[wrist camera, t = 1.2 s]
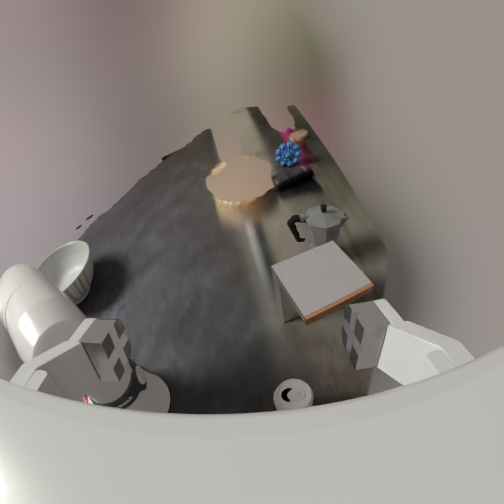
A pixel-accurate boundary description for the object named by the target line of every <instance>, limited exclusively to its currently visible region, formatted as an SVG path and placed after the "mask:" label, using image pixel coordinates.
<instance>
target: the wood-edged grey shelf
mask: <svg viewBox="0 0 504 504" xmlns="http://www.w3.org/2000/svg"><path fill="white" fill-rule="evenodd" d="M271 267H272V274H273V280H274V286H275V292H276V299H277V305H278V312H279V315H280V316H281V318H282V320H283V322H284V323H285V322H287V321H289V320H292V319H294V318H296V317H298V316H301V318H302V320H303V321H304V323H305V324H306V325H308V324H310V323H312V322H315V321H317V320H319V319H321V318H323V317H325V316H327V315H329V314H331V313H333V312H334V311H336V310H338V309H340V308H342V307H344V306H346V305H348V304H350V303H352V302H354V301H355V300H357V299H359V298H361V297H363V296H365V295H366V294H368V293H370V292H372V290H373V287H374V285H373V283H372V282H371V281H370V280H369V279H368V278H367V277H366V276H365V274H364V273H363V272H362V271H361V270H360V269H359V268H358V267H357V266H356V265H355V264H354V262H353V261H352V260H351V259H350V258H349V257H348V256H347V255H346V254H345V253H344V252H343V251H342V250H341V249H340V248H339V247H338V245H337V244H336V243H335V242H334V241H333V240H332V241H330V242H328V243H325V244H323V245H321V246H318V247H316V248H314V249H311V250H309V251H306V252H304V253H302V254H299V255H297V256H294V257H292V258H290V259H287V260H285V261H282V262H280V263H278V264H275V265H273V266H271Z"/></svg>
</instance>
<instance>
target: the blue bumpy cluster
mask: <svg viewBox="0 0 504 504" xmlns="http://www.w3.org/2000/svg"><path fill="white" fill-rule="evenodd" d="M279 147H280V149H277V150H276V151H275V154H276V155H277V157H276V161H277V162H280V161H281V162H280V165H281V166H285V165H286V164H287V166H288V167H291V166H293V163H298V162H299V158H298V157H300V156H301V155H302V152H301V151H300V150H299V145H297V144H295V145H293V143H292V142H288V143H287V144H284V143H282V144H281V145H280V146H279Z"/></svg>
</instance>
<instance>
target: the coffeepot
mask: <svg viewBox="0 0 504 504" xmlns="http://www.w3.org/2000/svg"><path fill="white" fill-rule="evenodd" d="M350 217H351V216H350V215H349V214H348V213H346V212H342V211H339V210H338V209H337V208H336V207H332V206H327V205H325V204H322V205H319V206H315V207H312V208H309V209H308V211H307V213H306V214H300V215H293V216H292V217H291V218H290V219H289V220H288V222H287V225H288V227H289V228H290V230H291V232H292V234H293V235H294V237H295V239H296V241H297V242H304V241H305V238H300V237H299V232H298V231H297V228H296V225H295V224H294V223H295V222H306V227H307V231H308V235H309V238H310V240H311V241H310V244H309V249H308V251H309V250H311V249H314V248H316V247H318V246H321V245H323V244H325V243H328V242H330V241H332V240H333V241H334V242H335V243H336V244H337V245H338V243H337V238H338V235H339V231H340V228H341V227H342V225H343V224H344V223H345V222H346V220H347V219H348V218H350Z"/></svg>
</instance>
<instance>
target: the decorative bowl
mask: <svg viewBox="0 0 504 504" xmlns="http://www.w3.org/2000/svg"><path fill="white" fill-rule="evenodd" d="M38 269H39V270H41V271H42V272H44V273H45V274H46V275H47V276H48V278H49V279H50V280H51V281H52V282H53V283H54V284H55V285H56V286H57V287H58V288H59V289H60V290H61V291H62V292H63V293H64V294H65V295H66V296H67V297H68V298H69V299H70V300H71V301H72V302H73V303H74V304H75V305H77V304H79V303H80V302H82V301H83V300H84V298H85V297H86V296H87V294H88V292H89V290H90V284H91V281H92V277H93V257H92V253H91V250H90V247H89V245H88V244H87V243H86V242H84V241H72V242H69V243H67V244H65V245H62V246H61V247H59V248H58V249H56V250H55V251H53V252H52V253H51V254H50V255H49V256H48V257H47V258H46V259H45V260H44V261H43V262H42V263H41V264H40V266H39V267H38Z"/></svg>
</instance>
